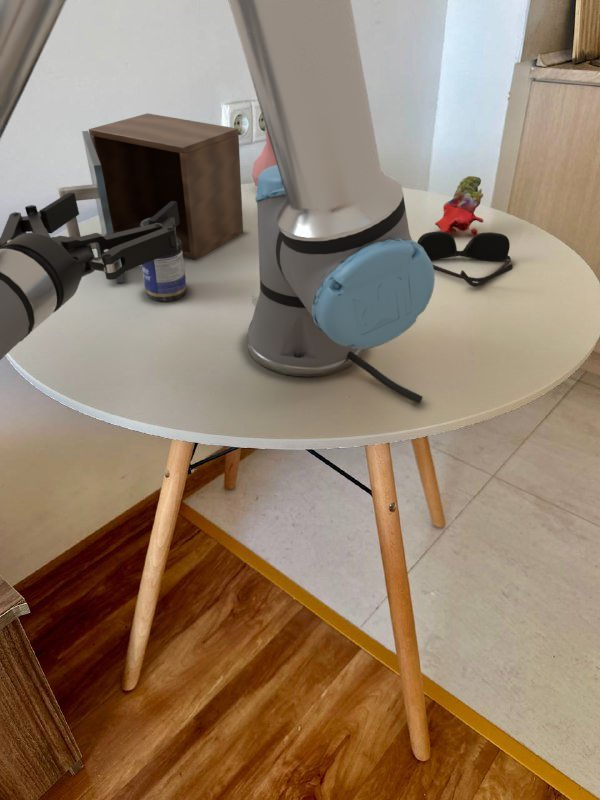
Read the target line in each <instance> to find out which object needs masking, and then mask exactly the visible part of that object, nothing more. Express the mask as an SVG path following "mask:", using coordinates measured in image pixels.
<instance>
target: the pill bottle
mask: <svg viewBox="0 0 600 800" xmlns="http://www.w3.org/2000/svg"><path fill="white" fill-rule="evenodd" d="M150 219H151V218H148V219H145V220H143V221H142V222H141V224H140V226H141V227H142V226H146V225H149V220H150ZM176 238H177V245H178V250H176V251H174V252H172V253H169V254H167V255H164V256H162V257H160V258H157V259H155V260H152V261H150V262H148V263H145V264H143V265H141V271H142V277H143V282H144V290H145V294H146V296H147V297H148V298H149V299H151V300H154V301H156V302H170V301H176V300H179V299H180V298H182V297H183V296H184V295H186V293H187V281H186V280H187V279H186V278H187V277H186V273H185V272H186V271H185V270H186V269H185V261H184V257H183V252H182V243H181V240H180V239H179V238H178V236H176Z"/></svg>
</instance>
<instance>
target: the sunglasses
mask: <svg viewBox="0 0 600 800" xmlns="http://www.w3.org/2000/svg"><path fill="white" fill-rule="evenodd" d="M509 239H510V238H509V237H507V235H505V234H503V233H499V232H493V231H492V232H489V231H488V232H479V233H477V234H476V235H473V236H472V237H471V239H470V240H469V241H468V243H467V244H466V246H465V247H464V248H463V250H458V249H457V248H458V247H457V243H456V240H455V238H454V237H453V235H452V233H447V232H440V231H430V232H425V233H423V234H422V235H421V236H420V237H418V240H417V241H416V242H417V243H418V244H419V245H421V246H422V247H423V248H424V250H425V252H426V253H427V256H428V257H429V258H430V260H431V261H434V260H436V261H437V260H442V259H443V260H444V259H449V258H455V257H462V258H469V259H472V260H478V261H486V262H505V263H503V265H501V266H500V267H499V268H498V269H496V270H495V271H494V272H492V273H490V274H489V275H486V276H483V277H472V276H469V275H468V274H467V273H466V272H465V270H461V271H460V273H457V272H455V271H451V270H449V269H446V268H443V267H441V266H438V265H435V264H433V268H434V271H437V272H440V273H443V274H445V275H448V276H452V277H455V278H457V279H462V280H464V281H465V282H466V283H467V284H468V285H469V286H470V287H473V288H477V287H479V286H482V285H483V284H485V283H487V282H489V281H490V280H492V279H495V278H496V277H498V276H499V277H500V276H501V275H503V274H506V273H508V272H510V271H512V270H513V269H514V266H513V265H514V264H513V263H511V261H512V259H511V256H510V255H509V253H510V246H511V244H510V240H509Z"/></svg>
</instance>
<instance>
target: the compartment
mask: <svg viewBox="0 0 600 800" xmlns="http://www.w3.org/2000/svg"><path fill="white" fill-rule="evenodd" d="M88 132H89V134H90V137H91V140H92V142H93V145H94V148H95V150H96V153H97V155H98V158H99V161H100V163H101V167H102V172H103V178H104V183H105V188H106V194H107V199H108V204H109V210H110V215H111V221H112V226H113V231H114V233H117V232H121V231H125V230H130V229H134V228H138V227H141V226H140V224H141V222H142V221H143V220H145V219H148V218H152V217H153V216H154V215H156V214H157V213H158V212H159V211H160V210H161V209H163V208H164V207H165V206H166V205H167V204H168V203H170V202H171V201H175V202H177V206H178V214H179V222H180V224H179V225H178V226H177V227H175V228H176V236H178V238H179V239H180V240H181V243H182V252H183V258H187V259H189V260H190V259H191V260H194V261H196V260H198V259H199V258H201V257H203V256H205V255H207V254H209V253H211V252H212V251H214V250H215V249H217V248H219V247H222V246H223V245H225V244H227V243H228V242H230V241H232V240H234V239H235V238H238V237H239V236H241V235H243V234H244V221H243V218H244V217H243V200H242V199H243V198H242V180H241V179H242V178H241V158H240V156H241V155H240V137H239V128H237V127H233V126H232V127H230V126H225V125H219V124H213V123H207V122H202V121H195V120H190V119H183V118H177V117H171V116H165V115H160V114H153V113H144V114H140V115H136V116H133V117H128V118H125V119H121V120H118V121H113V122H111V123H110V122H109V123H106V124H102V125H99V126H94V127H91V128H88Z"/></svg>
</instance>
